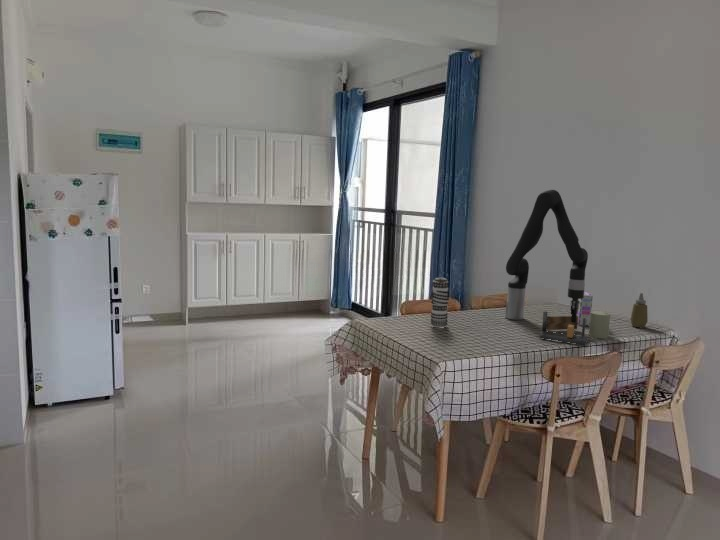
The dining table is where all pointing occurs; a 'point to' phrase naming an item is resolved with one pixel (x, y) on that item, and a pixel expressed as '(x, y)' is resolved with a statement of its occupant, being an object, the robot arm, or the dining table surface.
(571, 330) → the fader
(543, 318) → the frame
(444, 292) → the decorative candle
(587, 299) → the candy box
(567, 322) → the door
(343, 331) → the dining table surface
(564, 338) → the console
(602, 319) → the can
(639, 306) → the squeeze bottle
